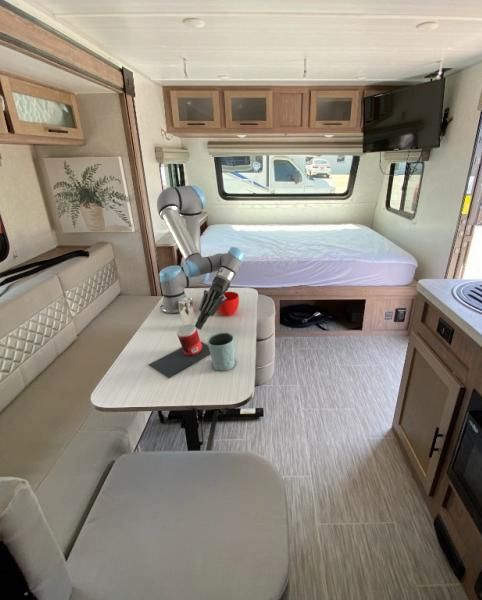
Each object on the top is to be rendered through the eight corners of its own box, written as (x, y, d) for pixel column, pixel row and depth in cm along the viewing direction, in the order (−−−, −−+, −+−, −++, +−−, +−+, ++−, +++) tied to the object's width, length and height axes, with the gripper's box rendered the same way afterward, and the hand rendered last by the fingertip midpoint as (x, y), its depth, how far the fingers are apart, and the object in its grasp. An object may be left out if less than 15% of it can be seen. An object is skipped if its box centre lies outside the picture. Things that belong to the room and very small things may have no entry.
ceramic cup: (212, 308, 180) (210, 291, 176) (242, 308, 178) (240, 291, 174) (205, 318, 168) (203, 301, 164) (237, 318, 166) (235, 301, 162)
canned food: (205, 344, 140) (198, 324, 134) (197, 357, 134) (190, 336, 128) (189, 343, 142) (182, 323, 136) (181, 355, 136) (173, 335, 130)
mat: (196, 340, 147) (196, 339, 147) (217, 350, 139) (217, 349, 139) (149, 365, 131) (149, 364, 131) (168, 377, 122) (168, 377, 122)
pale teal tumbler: (241, 361, 130) (238, 335, 126) (225, 375, 122) (222, 348, 118) (221, 355, 135) (218, 330, 130) (205, 368, 127) (201, 341, 123)
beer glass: (189, 323, 163) (185, 296, 157) (199, 326, 160) (195, 298, 154) (179, 329, 158) (174, 301, 152) (190, 332, 155) (185, 304, 149)
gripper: (208, 273, 143) (182, 321, 137) (228, 278, 135) (201, 329, 129) (218, 281, 148) (193, 327, 143) (238, 286, 141) (213, 335, 135)
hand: (197, 328), depth 136 cm, fingers closed
